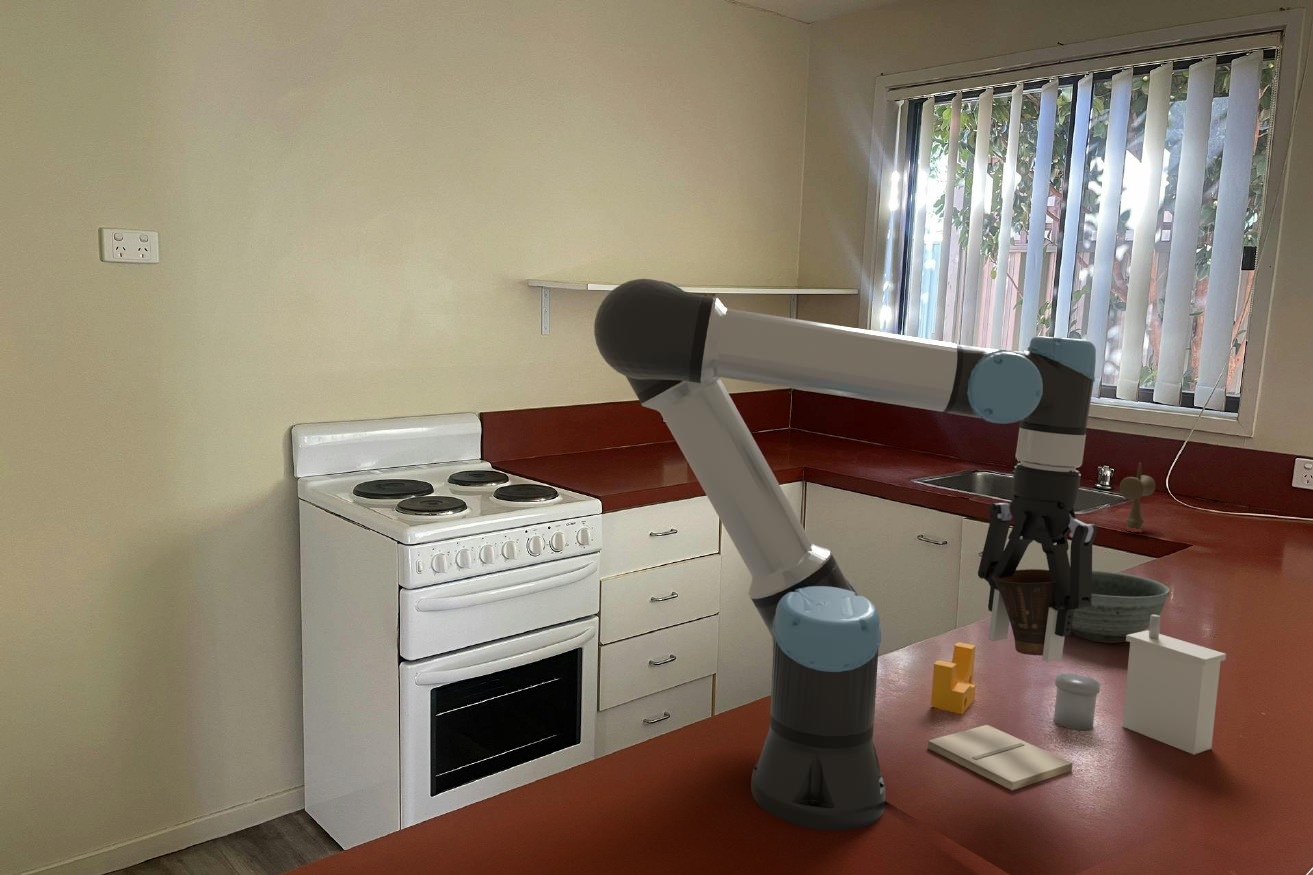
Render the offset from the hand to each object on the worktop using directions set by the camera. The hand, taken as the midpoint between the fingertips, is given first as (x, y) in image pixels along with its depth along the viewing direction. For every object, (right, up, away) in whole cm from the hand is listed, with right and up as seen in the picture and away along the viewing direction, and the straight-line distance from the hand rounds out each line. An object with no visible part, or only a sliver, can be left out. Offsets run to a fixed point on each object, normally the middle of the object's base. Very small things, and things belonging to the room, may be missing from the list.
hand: (1024, 648), depth 125 cm
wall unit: (+22, -14, +10) cm, 28 cm away
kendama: (+79, 0, +138) cm, 159 cm away
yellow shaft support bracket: (-2, -12, +22) cm, 25 cm away
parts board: (-3, -14, +1) cm, 14 cm away
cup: (0, 0, 0) cm, 0 cm away
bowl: (+33, -9, +54) cm, 64 cm away
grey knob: (+12, -13, +14) cm, 22 cm away
